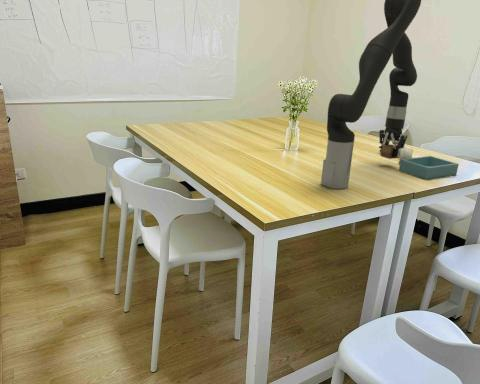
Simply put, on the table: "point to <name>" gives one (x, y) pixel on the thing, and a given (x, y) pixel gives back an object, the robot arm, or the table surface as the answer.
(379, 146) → the valve
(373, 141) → the table surface
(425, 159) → the tote
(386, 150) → the walnut cube
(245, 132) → the table surface
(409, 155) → the ceramic capsule
